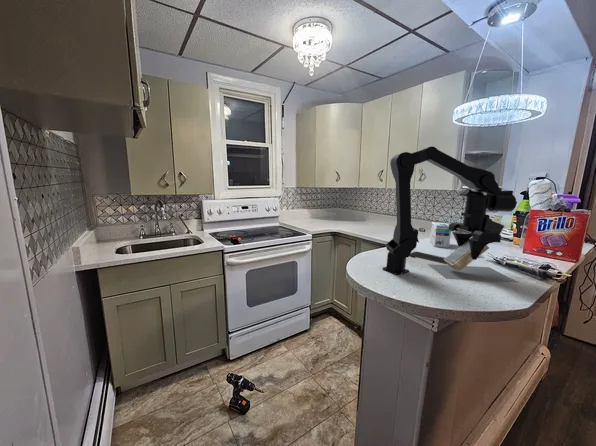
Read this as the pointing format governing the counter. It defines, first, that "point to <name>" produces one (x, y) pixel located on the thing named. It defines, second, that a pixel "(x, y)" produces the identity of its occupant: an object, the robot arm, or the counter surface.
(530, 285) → the counter surface
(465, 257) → the maple block
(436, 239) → the light bulb box
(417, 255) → the phone
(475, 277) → the rubber mat
